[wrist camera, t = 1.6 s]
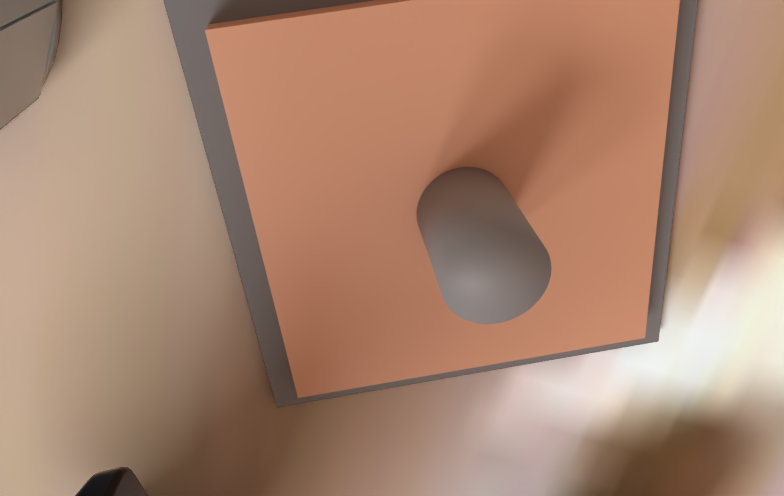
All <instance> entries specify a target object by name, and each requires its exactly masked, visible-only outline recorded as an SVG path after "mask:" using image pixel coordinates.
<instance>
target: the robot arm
mask: <svg viewBox="0 0 784 496" xmlns="http://www.w3.org/2000/svg"><path fill="white" fill-rule="evenodd" d="M75 496H148V494H147V493H146V491H145V490H144V488H143V487H142V485H141V484H140V482H139V480H138V479H137V477H136V476H135V474H134V473H133V472H132V470H131V469H129V468H127V467H119V468H115V469H111V470H107V471H102V472H99V473H97V474H95V475H93V476H92V477H91V478H90V479H89V480H88V481H87V483H86V484H85V485H84V486H83V487H82V488H81V489H80V491H79V492H78V493H77V494H76V495H75Z"/></svg>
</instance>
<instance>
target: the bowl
mask: <svg viewBox="0 0 784 496" xmlns="http://www.w3.org/2000/svg"><path fill="white" fill-rule="evenodd" d="M60 25H61V0H0V132H1V131H2V130H4V129H5V128H6V127H7V126H8V125H9V124H10V123H12V122H13V121H14V120H15V119H16V118H17V117H18V116H19V115H20V114H21V113H22V112H24V111H25V110H26V109H27V108H28V107H29V106H30V105H31V104H32V103H34V102H35V101H36V100H37V99H38V98H39V96H40V94H41V89H42V86H43V85H44V83H45V80H46V78H47V76H48V74H49V72H50V69H51V67H52V65H53V61H54V58H55V54H56V50H57V47H58V42H59V34H60Z"/></svg>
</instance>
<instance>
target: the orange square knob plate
mask: <svg viewBox="0 0 784 496" xmlns="http://www.w3.org/2000/svg"><path fill="white" fill-rule="evenodd" d="M679 4H680V0H374V1H367V2H360V3H353V4H346V5H339V6H332V7H325V8H318V9H311V10H304V11H297V12H290V13H284V14H277V15H270V16H263V17H256V18H249V19H242V20H235V21H228V22H221V23H214V24H208V26H207V28H206V29H205V33H206V37H207V41H208V45H209V49H210V53H211V57H212V61H213V65H214V69H215V73H216V76H217V80H218V84H219V88H220V92H221V96H222V100H223V104H224V108H225V112H226V116H227V120H228V124H229V128H230V132H231V136H232V140H233V144H234V147H235V151H236V155H237V159H238V163H239V167H240V171H241V175H242V179H243V183H244V187H245V191H246V195H247V199H248V203H249V207H250V211H251V215H252V219H253V222H254V226H255V230H256V234H257V238H258V242H259V246H260V250H261V254H262V258H263V262H264V266H265V270H266V274H267V278H268V282H269V286H270V290H271V293H272V297H273V301H274V305H275V309H276V313H277V317H278V321H279V325H280V329H281V333H282V337H283V341H284V345H285V349H286V353H287V357H288V361H289V365H290V368H291V372H292V376H293V380H294V384H295V388H296V392H297V396H298V398H301V397H307V396H313V395H318V394H324V393H330V392H336V391H341V390H347V389H353V388H359V387H365V386H370V385H376V384H382V383H388V382H394V381H399V380H405V379H411V378H417V377H422V376H428V375H434V374H440V373H446V372H451V371H457V370H463V369H469V368H475V367H480V366H486V365H492V364H498V363H503V362H509V361H515V360H521V359H527V358H532V357H538V356H544V355H550V354H555V353H561V352H567V351H573V350H579V349H584V348H590V347H596V346H602V345H608V344H613V343H619V342H625V341H631V340H636V339H642V338H645V334H646V324H647V314H648V305H649V295H650V285H651V276H652V266H653V256H654V247H655V237H656V227H657V217H658V208H659V198H660V188H661V179H662V169H663V159H664V150H665V140H666V130H667V121H668V111H669V101H670V91H671V82H672V72H673V62H674V53H675V43H676V33H677V24H678V14H679Z"/></svg>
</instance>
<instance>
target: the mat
mask: <svg viewBox="0 0 784 496" xmlns="http://www.w3.org/2000/svg"><path fill="white" fill-rule="evenodd" d="M367 1H374V0H164V4H165V7H166V11H167V15H168V18H169V22H170V25H171V29H172V33H173V36H174V40H175V43H176V47H177V51H178V54H179V58H180V61H181V65H182V69H183V72H184V76H185V79H186V83H187V86H188V90H189V94H190V97H191V101H192V104H193V108H194V112H195V115H196V119H197V122H198V126H199V130H200V133H201V137H202V140H203V144H204V148H205V151H206V155H207V158H208V162H209V166H210V169H211V173H212V176H213V180H214V184H215V187H216V191H217V194H218V198H219V201H220V205H221V209H222V212H223V216H224V219H225V223H226V227H227V230H228V234H229V237H230V241H231V245H232V248H233V252H234V255H235V259H236V263H237V266H238V270H239V273H240V277H241V281H242V284H243V288H244V291H245V295H246V298H247V302H248V306H249V309H250V313H251V316H252V320H253V324H254V327H255V331H256V334H257V338H258V342H259V345H260V349H261V352H262V356H263V360H264V363H265V367H266V370H267V374H268V378H269V381H270V385H271V388H272V392H273V395H274V399H275V403H276V406H277V407H283V406H288V405H294V404H300V403H306V402H311V401H317V400H323V399H329V398H335V397H340V396H346V395H352V394H358V393H363V392H369V391H375V390H381V389H386V388H392V387H398V386H404V385H410V384H415V383H421V382H427V381H433V380H438V379H444V378H450V377H456V376H461V375H467V374H473V373H479V372H485V371H490V370H496V369H502V368H508V367H513V366H519V365H525V364H531V363H536V362H542V361H548V360H554V359H559V358H565V357H571V356H577V355H583V354H588V353H594V352H600V351H606V350H611V349H617V348H623V347H629V346H634V345H640V344H646V343H652V342H658V340H659V332H660V323H661V314H662V306H663V297H664V289H665V280H666V272H667V263H668V254H669V246H670V237H671V229H672V220H673V212H674V203H675V194H676V186H677V177H678V169H679V160H680V152H681V143H682V134H683V126H684V117H685V109H686V100H687V92H688V83H689V74H690V66H691V57H692V49H693V40H694V32H695V23H696V14H697V6H698V0H680V4H679V14H678V24H677V33H676V43H675V53H674V62H673V72H672V82H671V91H670V101H669V111H668V121H667V130H666V140H665V150H664V159H663V169H662V179H661V188H660V198H659V208H658V217H657V227H656V237H655V247H654V256H653V266H652V276H651V285H650V295H649V305H648V314H647V324H646V334H645V338H642V339H636V340H631V341H625V342H619V343H613V344H608V345H602V346H596V347H590V348H584V349H579V350H573V351H567V352H561V353H555V354H550V355H544V356H538V357H532V358H527V359H521V360H515V361H509V362H503V363H498V364H492V365H486V366H480V367H475V368H469V369H463V370H457V371H451V372H446V373H440V374H434V375H428V376H422V377H417V378H411V379H405V380H399V381H394V382H388V383H382V384H376V385H370V386H365V387H359V388H353V389H347V390H341V391H336V392H330V393H324V394H318V395H313V396H307V397H301V398H298V396H297V392H296V388H295V384H294V380H293V376H292V372H291V368H290V365H289V361H288V357H287V353H286V349H285V345H284V341H283V337H282V333H281V329H280V325H279V321H278V317H277V313H276V309H275V305H274V301H273V297H272V293H271V290H270V286H269V282H268V278H267V274H266V270H265V266H264V262H263V258H262V254H261V250H260V246H259V242H258V238H257V234H256V230H255V226H254V222H253V219H252V215H251V211H250V207H249V203H248V199H247V195H246V191H245V187H244V183H243V179H242V175H241V171H240V167H239V163H238V159H237V155H236V151H235V147H234V144H233V140H232V136H231V132H230V128H229V124H228V120H227V116H226V112H225V108H224V104H223V100H222V96H221V92H220V88H219V84H218V80H217V76H216V73H215V69H214V65H213V61H212V57H211V53H210V49H209V45H208V41H207V37H206V33H205V29H206V28H207V26H208V24H214V23H221V22H228V21H235V20H242V19H249V18H256V17H263V16H270V15H277V14H284V13H290V12H297V11H304V10H311V9H318V8H325V7H332V6H339V5H346V4H353V3H360V2H367Z"/></svg>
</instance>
